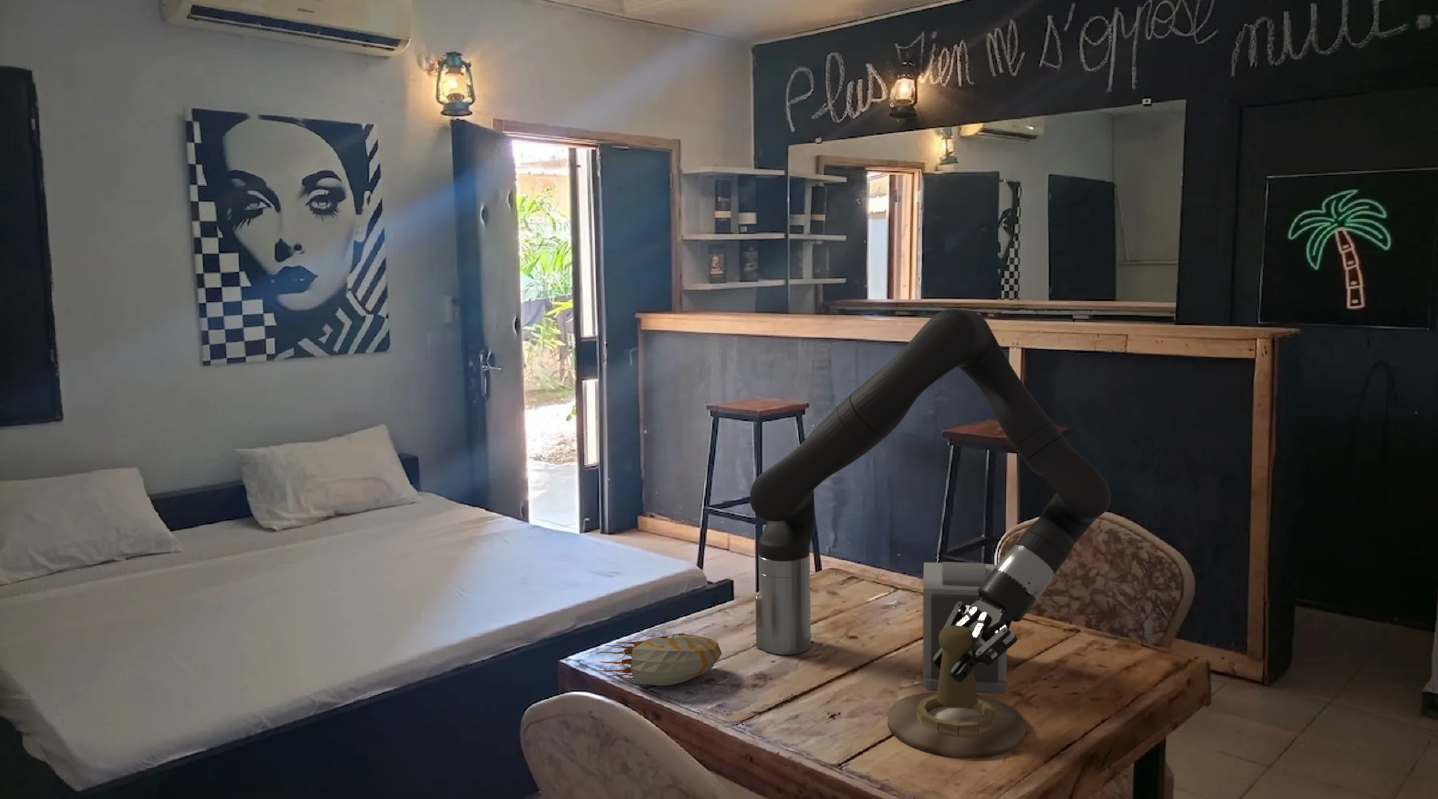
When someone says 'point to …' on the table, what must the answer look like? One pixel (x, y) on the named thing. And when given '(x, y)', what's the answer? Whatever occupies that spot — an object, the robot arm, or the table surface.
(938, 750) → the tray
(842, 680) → the table surface
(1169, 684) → the table surface
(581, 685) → the table surface
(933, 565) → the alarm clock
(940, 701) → the cork
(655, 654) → the nautilus
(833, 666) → the table surface
